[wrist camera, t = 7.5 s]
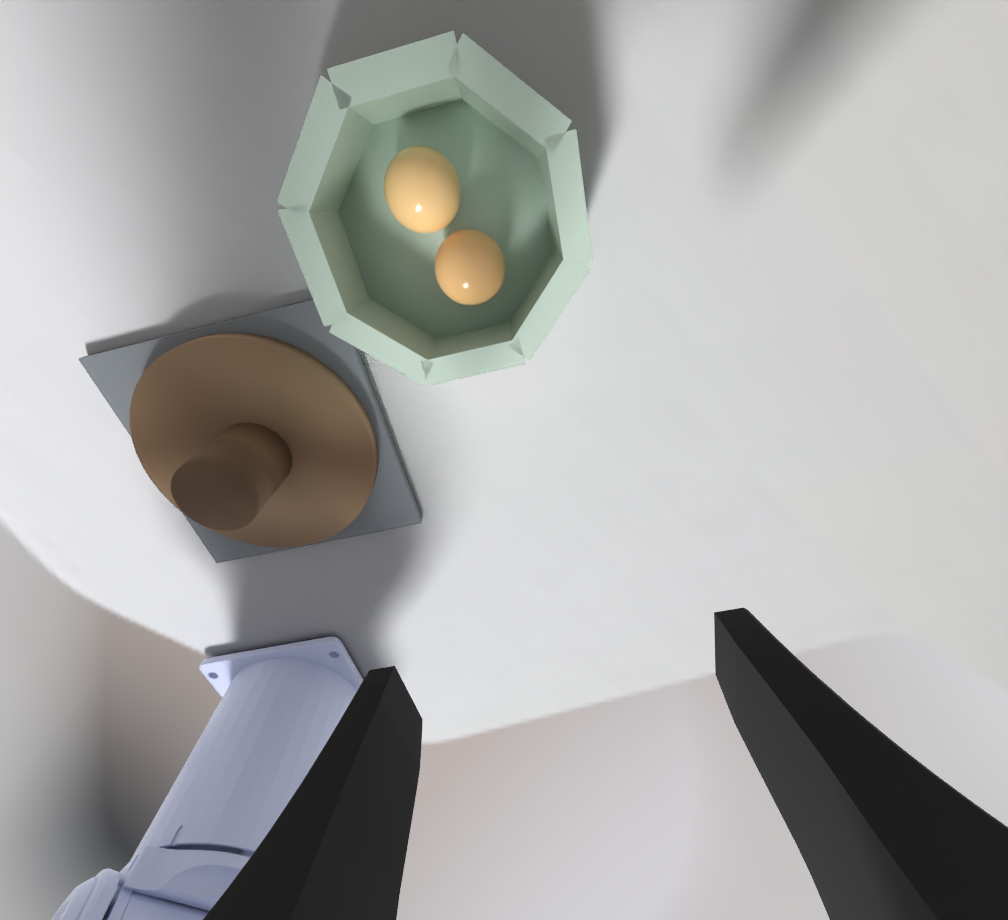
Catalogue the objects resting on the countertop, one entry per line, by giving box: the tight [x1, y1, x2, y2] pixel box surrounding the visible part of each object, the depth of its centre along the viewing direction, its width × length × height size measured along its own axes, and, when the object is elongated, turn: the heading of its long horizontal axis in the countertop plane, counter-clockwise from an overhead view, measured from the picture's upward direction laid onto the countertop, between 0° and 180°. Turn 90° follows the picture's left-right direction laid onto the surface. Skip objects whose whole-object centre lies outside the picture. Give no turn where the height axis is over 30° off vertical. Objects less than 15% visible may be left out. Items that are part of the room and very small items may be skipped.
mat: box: [79, 299, 422, 563], centre depth 19 cm, size 10×10×1 cm
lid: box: [130, 332, 379, 548], centre depth 17 cm, size 9×9×4 cm
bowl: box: [277, 30, 593, 386], centre depth 14 cm, size 8×8×3 cm
